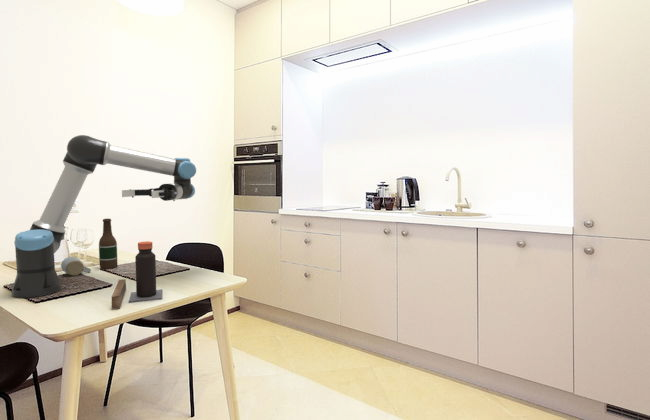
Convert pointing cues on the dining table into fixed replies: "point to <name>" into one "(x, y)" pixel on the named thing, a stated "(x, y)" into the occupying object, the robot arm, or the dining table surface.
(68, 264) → the ceramic mug
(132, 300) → the pad
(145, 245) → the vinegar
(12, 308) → the dining table surface
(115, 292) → the door rail
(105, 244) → the beer bottle
